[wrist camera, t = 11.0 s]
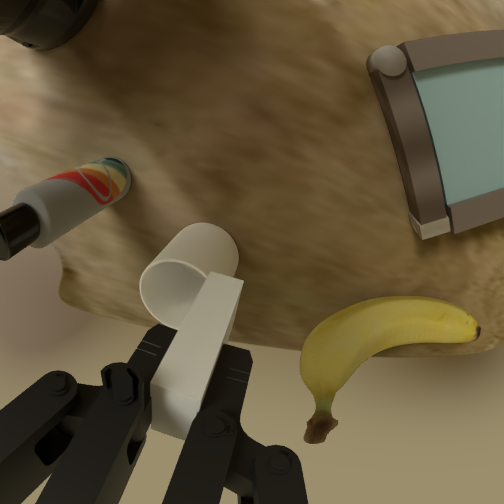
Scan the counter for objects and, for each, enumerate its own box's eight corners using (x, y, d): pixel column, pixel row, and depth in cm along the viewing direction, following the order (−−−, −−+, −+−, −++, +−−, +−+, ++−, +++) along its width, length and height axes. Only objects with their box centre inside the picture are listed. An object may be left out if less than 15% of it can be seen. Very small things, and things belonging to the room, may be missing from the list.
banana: (468, 285, 35) (536, 396, 17) (458, 320, 38) (509, 433, 20) (303, 286, 39) (294, 423, 21) (302, 323, 42) (292, 457, 24)
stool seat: (393, 48, 26) (403, 42, 22) (503, 33, 21) (520, 29, 17) (441, 221, 33) (454, 234, 29) (537, 189, 28) (555, 198, 24)
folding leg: (360, 56, 27) (368, 49, 23) (389, 49, 26) (401, 41, 22) (411, 225, 33) (423, 241, 29) (436, 217, 32) (451, 232, 28)
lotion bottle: (127, 152, 35) (-1, 204, 17) (136, 197, 38) (22, 275, 20) (91, 159, 36) (-33, 213, 18) (100, 201, 39) (-12, 274, 21)
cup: (234, 217, 37) (210, 257, 28) (248, 305, 42) (232, 359, 33) (168, 223, 38) (129, 261, 29) (189, 306, 43) (162, 355, 34)
